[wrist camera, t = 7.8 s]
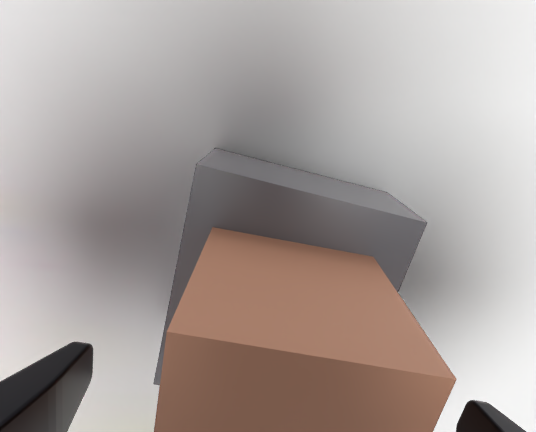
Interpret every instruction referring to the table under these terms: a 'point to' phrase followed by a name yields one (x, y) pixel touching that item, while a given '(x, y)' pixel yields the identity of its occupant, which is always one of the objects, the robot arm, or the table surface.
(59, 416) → the robot arm
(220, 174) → the gray box
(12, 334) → the table surface
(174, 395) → the terracotta block
